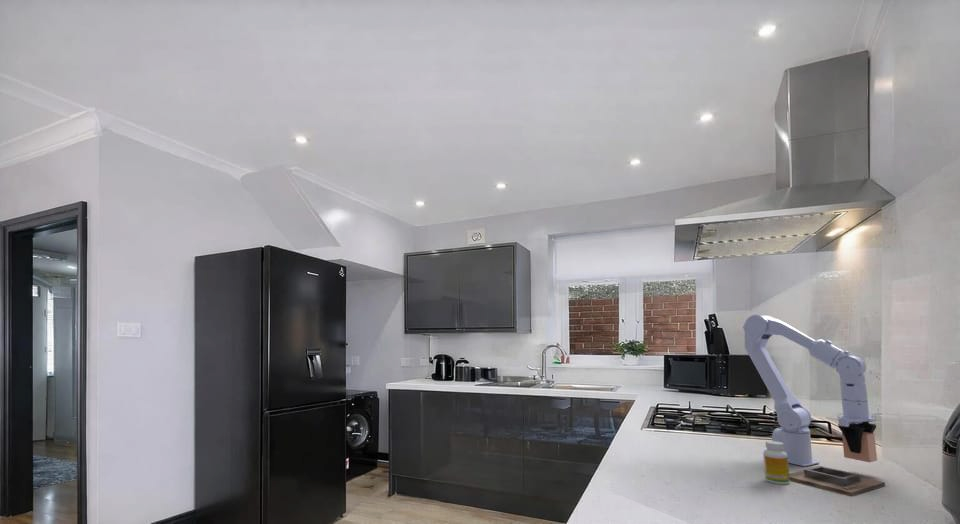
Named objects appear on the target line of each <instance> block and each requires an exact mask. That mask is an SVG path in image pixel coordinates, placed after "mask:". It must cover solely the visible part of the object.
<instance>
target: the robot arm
mask: <svg viewBox="0 0 960 524" xmlns="http://www.w3.org/2000/svg"><path fill="white" fill-rule="evenodd" d="M742 328H743V332H744V348H745V350H746V352H747V354H748V356H749V357H750V359H751V361H752V364H753V365H754V366H755V369H756V370H757V372H758V374H759V375H760V378H761V380H762V381H763V383H764V385H765V386H766V388H767V390H768V392H769V393H770V395H771V397H772V400H773V401H774V403H773V405H774V410H775V413H776V417H777V418H776V420H777V423H778V424H779V426H780V428H775V429H774V430H773V431H772V435H771V441H777V442H781V443H783V447H784V449H783V451H784V452H786V454H787V457H788V464H791V465H796V466H800V467H808V466H813V465H816V464H820V461H819V460H814V459H813V450H812V440H811V439H812V438H811V430H810V428H809V425H810V424H811V423H812V415H811V413H810V411H809V410H808V409H806V408H805V407H804V406H803V405H802V404H801V401H799V399H797V398H796V397H795V396H794V395H793V394H792V392H791V390H790V389H789V386H788V385H787V383H786V382H785V380H784V377H782V375H781V373H780V371H779V369H778V368H777V366H776V364H775V363H774V360H773V359H772V357H771V356H770V353H769V351H768V350H767V349H766V346H767V344H768V341H769V340H770V338H771V337H772V336H773V335H774V336H775V335H776V336H782V337H783V338H785V339H787V340H789V341H792V342H794V343H795V344H798V345H799V346H802V347H803V348H805V349H807V350H808V352H809V356H811V357H812V358H815V359H816V360H818V361H819V362H821V363H823V364H825V365H827V367H830V368H832V369H835V370H836V372H837V374H838V375H839V379H840V380H839V381H840V382H839V385H840V392H841V393H840V395H841V404H842V415H841V416H840V417H839V418H837V420H838V424H837V425H838V429H839V430H840V431H841V434H842V433H843V435H844V436H845V438H846V441H847V443H848V446H849V449H850V451H851V452H854V453H860V452H861V439H862V434H863V432H868V433H874V432H875V430H876V429H877V425H876V423H875V424H874V422H875V417H874V414H870V411H869V402H868V393H867V392H868V391H867V383H866V378H865V373H866V371H867V365H866V361H864V360H863V359H862V358H861V357H859V356H858V355H855V354H850V351H849V350H843V349H841V348H839V347H837V346H835V345H834V344H833V342H832V341H831V340H829V339H826V340H824V339H816V340H815V339H814V338H812V337H811V336H809V335H807V334H805V333H804V332H801V331H800V330H798V329H796V328H795V327H793V326H792V325H789V324H788V323H786V322H785V321H782V320H780V319H778V318H774V317H773V316H771V315H767V314H766V315H765V314H763V315H759V314H752V315H750V316H748V317H747V318H746V320H745V322H744V324H743V326H742Z"/></svg>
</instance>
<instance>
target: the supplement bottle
mask: <svg viewBox="0 0 960 524" xmlns="http://www.w3.org/2000/svg"><path fill="white" fill-rule="evenodd" d="M765 447H766V449H765V450H763V453H762V454H763V465H764V467H763V468H764V478H765V480H766V481H767V482H769V483H770V484H774V485H775V484H776V485H789V484H790V481H791V480H790V479H789V473H790V472H789V463H788V457H787V454H786V452H784V451H783V449H784V447H783V443H781V442H777V441H772V440H765Z"/></svg>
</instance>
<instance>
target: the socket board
mask: <svg viewBox="0 0 960 524" xmlns="http://www.w3.org/2000/svg"><path fill="white" fill-rule="evenodd" d="M789 479H790V481H792V482H795V483H798V484H799V483H800V484H804V485H806V486H811V487H816V488H819V489H822V490H827V491H830V492H835V493H839V494H842V495H846V496H850V497H853V496H857V495H860V494H863V493H866V492H870V491H873V490H876V489H879V488H883V487H885V486H886V482H884V481H881V480H875V479H871V478H867V477H862V476H861V473H855V472H851V471H850V472H849V471H845V470H842V469H841V470H840V469H836V468H832V467H828V466H822V465H817V466H813V467H810V468H805V469H802V470H798V471H794V472H789Z"/></svg>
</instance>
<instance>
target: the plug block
mask: <svg viewBox="0 0 960 524" xmlns="http://www.w3.org/2000/svg"><path fill="white" fill-rule="evenodd" d="M841 437H842V446H843V447H842V448H843V456H844V458H846V459H851V460H855V461H856V460H857V461H861V462H865V463H866V462H867V463H873V462H877V461H878V456H877V447H876V446H877V445H876V437H875V433H874V432H873V433H868V432H863V434H862V439H861V452H860V453H854V452H851V451H850V449H849V446H848V443H847V441H846V438H845V436H844V435H843V433H842V432H841Z"/></svg>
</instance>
